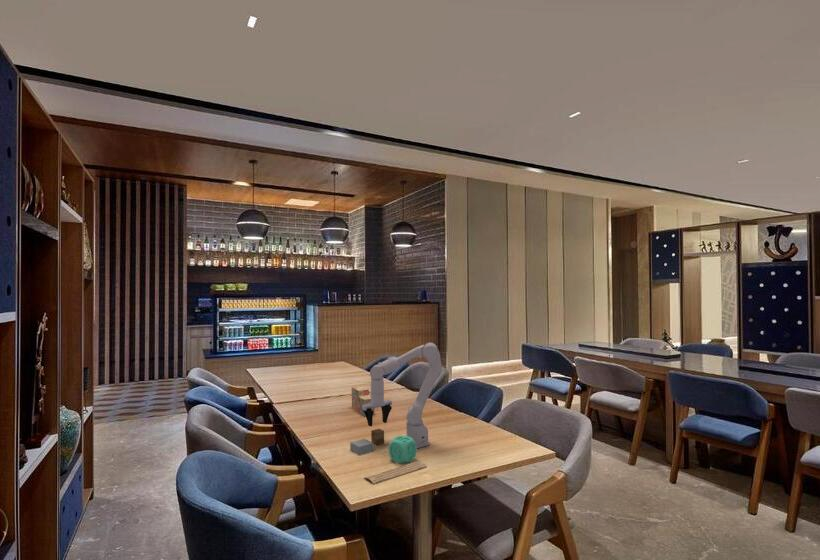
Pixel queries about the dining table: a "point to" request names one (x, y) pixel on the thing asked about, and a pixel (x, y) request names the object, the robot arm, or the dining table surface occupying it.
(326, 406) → the dining table surface
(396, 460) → the decorative dice
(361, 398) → the stack of blocks
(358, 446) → the pedestal block
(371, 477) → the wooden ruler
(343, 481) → the dining table surface
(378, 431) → the walnut block
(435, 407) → the dining table surface
